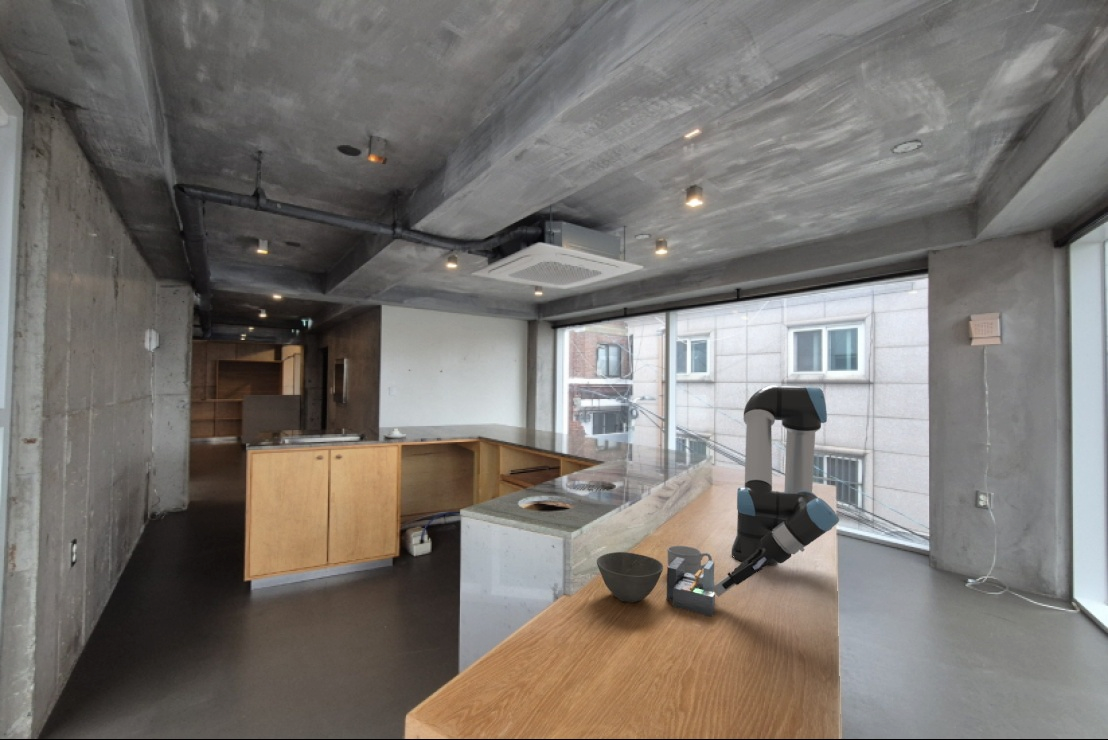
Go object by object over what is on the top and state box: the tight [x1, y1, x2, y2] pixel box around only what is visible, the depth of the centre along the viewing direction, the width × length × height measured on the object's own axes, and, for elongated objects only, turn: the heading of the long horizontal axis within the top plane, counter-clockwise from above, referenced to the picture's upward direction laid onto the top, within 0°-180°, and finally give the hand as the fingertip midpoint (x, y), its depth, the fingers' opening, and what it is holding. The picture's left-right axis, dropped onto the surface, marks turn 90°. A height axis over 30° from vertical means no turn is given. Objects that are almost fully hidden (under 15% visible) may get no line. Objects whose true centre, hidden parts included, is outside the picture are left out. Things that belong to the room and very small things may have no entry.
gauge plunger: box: [682, 560, 715, 593], centre depth 135 cm, size 7×8×10 cm
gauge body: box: [666, 557, 716, 618], centre depth 133 cm, size 14×13×9 cm
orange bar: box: [690, 569, 703, 590], centre depth 132 cm, size 11×1×2 cm, turn 150°
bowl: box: [596, 551, 664, 603], centre depth 134 cm, size 19×19×10 cm
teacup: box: [666, 545, 713, 574], centre depth 153 cm, size 14×11×8 cm
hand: (715, 591), depth 132 cm, fingers closed
